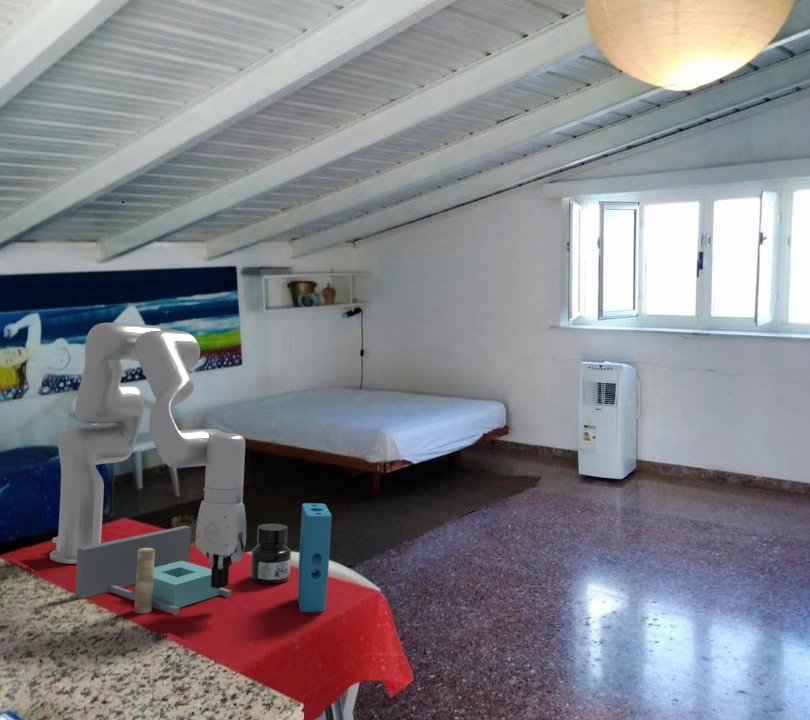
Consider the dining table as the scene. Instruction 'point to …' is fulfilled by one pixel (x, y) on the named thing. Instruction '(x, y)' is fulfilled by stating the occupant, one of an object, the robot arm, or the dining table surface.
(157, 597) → the socket block
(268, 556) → the ink bottle
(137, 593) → the dowel
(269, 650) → the dining table surface
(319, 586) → the block
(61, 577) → the dining table surface
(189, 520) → the cup
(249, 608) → the dining table surface
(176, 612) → the backstop wall
